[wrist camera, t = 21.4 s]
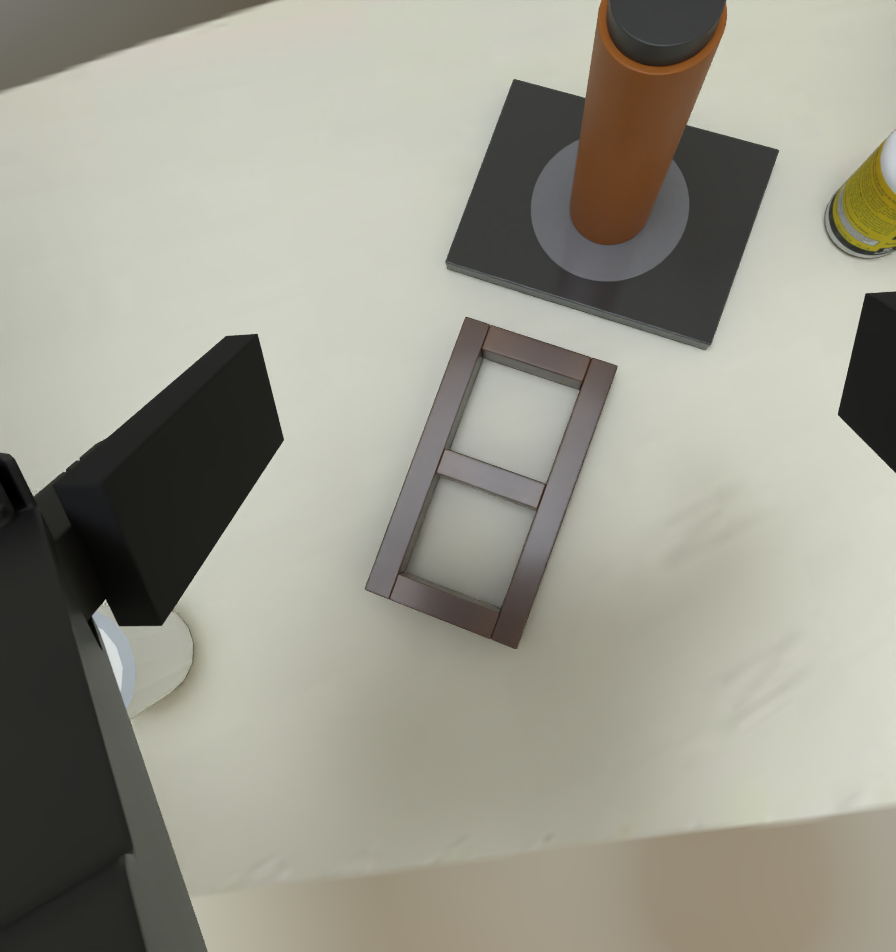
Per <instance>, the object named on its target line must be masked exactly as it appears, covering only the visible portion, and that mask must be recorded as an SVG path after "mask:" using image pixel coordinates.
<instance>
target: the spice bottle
mask: <svg viewBox="0 0 896 952" xmlns="http://www.w3.org/2000/svg"><path fill="white" fill-rule="evenodd" d="M726 20H727V7H726V0H602V1H601V4H600V7H599V12H598V19H597V25H596V32H595V39H594V45H593V52H592V59H591V65H590V72H589V79H588V86H587V92H586V99H585V106H584V112H583V119H582V126H581V133H580V139H579V146H578V153H577V159H576V166H575V173H574V180H573V186H572V193H571V200H570V216H571V220H572V222H573V224H574V226H575V228H576V229H577V230H578V232H579V233H580V234H581V235H582V236H584V237H585V238H586V239H588V240H590V241H592V242H595V243H598V244H602V245H615V244H620V243H623V242H626V241H628V240H630V239H631V238H633V237H634V236H636V235H637V234H638V233H639V232H640V231H641V230H642V229H643V227H644V226H645V224H646V223H647V221H648V218H649V216H650V213H651V211H652V208H653V206H654V203H655V201H656V198H657V196H658V194H659V191H660V189H661V186H662V184H663V181H664V179H665V176H666V174H667V171H668V169H669V166H670V164H671V161H672V159H673V156H674V154H675V151H676V149H677V147H678V144H679V142H680V139H681V137H682V134H683V132H684V129H685V127H686V124H687V122H688V119H689V117H690V114H691V112H692V109H693V107H694V104H695V102H696V100H697V97H698V95H699V92H700V90H701V87H702V85H703V82H704V80H705V77H706V75H707V72H708V70H709V67H710V65H711V62H712V60H713V58H714V55H715V53H716V50H717V48H718V45H719V43H720V40H721V38H722V35H723V33H724V29H725V26H726Z"/></svg>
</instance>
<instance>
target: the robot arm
mask: <svg viewBox="0 0 896 952" xmlns="http://www.w3.org/2000/svg"><path fill="white" fill-rule="evenodd" d="M838 415H839V416H840V417H841V418H842V420H843V421H844V422H845V423H846V424H847V425H848V426H849V427H850V428H851V429H852V430H853V431H854V432H855V433H856V434H857V435H858V436H859V437H860V438H861V439H862V440H863V441H864V442H865V443H866V444H867V445H868V446H869V447H870V448H871V449H872V450H873V451H874V452H875V453H876V454H877V455H878V456H879V457H880V458H881V459H882V460H883V461H884V462H885V463H886V464H887V465H888V466H889V467H890V468H891V469H892V470H893V471H894V472H895V473H896V292H881V293H866V294H865V298H864V303H863V307H862V311H861V316H860V320H859V324H858V329H857V333H856V337H855V342H854V346H853V351H852V355H851V359H850V364H849V368H848V372H847V377H846V381H845V385H844V390H843V394H842V398H841V403H840V407H839V411H838ZM283 441H284V438H283V434H282V430H281V426H280V422H279V418H278V414H277V410H276V406H275V402H274V398H273V394H272V390H271V386H270V382H269V378H268V374H267V370H266V366H265V362H264V358H263V354H262V350H261V346H260V342H259V338H258V334H250V335H235V336H226V337H224V338H223V339H222V340H221V341H220V342H219V343H217V344H216V345H215V346H214V347H213V348H212V349H210V350H209V351H208V352H207V353H206V354H205V355H203V356H202V357H201V358H200V359H199V360H198V361H196V362H195V363H194V364H193V365H192V366H191V367H189V368H188V369H187V370H186V371H185V372H184V373H182V374H181V375H180V376H179V377H178V378H177V379H175V380H174V381H173V382H172V383H171V384H170V385H168V386H167V387H166V388H165V389H164V390H163V391H162V392H160V393H159V394H158V395H157V396H156V397H155V398H153V399H152V400H151V401H150V402H149V403H148V404H146V405H145V406H144V407H143V408H142V409H141V410H139V411H138V412H137V413H136V414H135V415H134V416H132V417H131V418H130V419H129V420H128V421H127V422H125V423H124V424H123V425H122V426H121V427H120V428H118V429H117V430H116V431H115V432H114V433H113V434H111V435H110V436H109V437H108V438H106V439H104V440H103V441H101V442H99V443H97V444H95V445H94V446H93V447H92V448H91V449H89V450H88V451H87V452H86V453H85V454H84V455H82V456H81V457H80V461H75V462H74V463H73V464H72V465H71V466H69V467H68V468H67V469H66V472H62V473H61V474H60V475H59V476H58V477H57V478H55V479H54V480H53V481H52V482H51V483H49V484H48V485H47V486H46V487H45V488H44V489H42V490H41V491H40V492H39V493H38V494H36V495H35V496H34V497H33V495H32V493H31V491H30V489H29V487H28V485H27V483H26V481H25V479H24V477H23V475H22V473H21V471H20V469H19V467H18V465H17V463H16V461H15V459H14V458H13V457H12V456H11V455H10V454H5V453H0V952H207V948H206V945H205V942H204V939H203V936H202V933H201V930H200V927H199V925H198V922H197V918H196V916H195V913H194V910H193V907H192V904H191V901H190V898H189V895H188V892H187V889H186V886H185V883H184V880H183V877H182V874H181V871H180V868H179V865H178V862H177V859H176V856H175V853H174V850H173V847H172V844H171V841H170V838H169V835H168V832H167V829H166V826H165V823H164V820H163V817H162V814H161V811H160V809H159V806H158V803H157V800H156V797H155V794H154V791H153V788H152V785H151V782H150V779H149V776H148V773H147V770H146V767H145V764H144V761H143V758H142V755H141V752H140V749H139V746H138V743H137V740H136V737H135V734H134V731H133V728H132V725H131V722H130V719H129V716H128V713H127V710H126V707H125V704H124V702H123V699H122V696H121V693H120V690H119V687H118V684H117V681H116V678H115V675H114V672H113V669H112V666H111V663H110V660H109V657H108V654H107V651H106V648H105V645H104V642H103V639H102V636H101V633H100V631H99V629H98V627H97V625H96V623H95V621H94V619H93V617H92V615H93V614H94V613H95V612H96V610H97V609H98V608H99V607H100V605H101V604H102V603H103V602H104V600H105V599H106V600H107V603H108V605H109V607H110V609H111V611H112V613H113V615H114V617H115V620H116V622H117V624H118V626H162V625H163V624H164V622H165V621H166V619H167V618H168V616H169V615H170V613H171V612H172V610H173V608H174V607H175V605H176V604H177V602H178V601H179V599H180V598H181V596H182V595H183V593H184V592H185V590H186V589H187V587H188V586H189V584H190V583H191V581H192V579H193V578H194V576H195V575H196V573H197V572H198V570H199V569H200V567H201V566H202V564H203V563H204V561H205V560H206V558H207V557H208V555H209V554H210V552H211V550H212V549H213V547H214V546H215V544H216V543H217V541H218V540H219V538H220V537H221V535H222V534H223V532H224V531H225V529H226V528H227V526H228V525H229V523H230V521H231V520H232V518H233V517H234V515H235V514H236V512H237V511H238V509H239V508H240V506H241V505H242V503H243V502H244V500H245V499H246V497H247V496H248V494H249V492H250V491H251V489H252V488H253V486H254V485H255V483H256V482H257V480H258V479H259V477H260V476H261V474H262V473H263V471H264V470H265V468H266V467H267V465H268V463H269V462H270V460H271V459H272V457H273V456H274V454H275V453H276V451H277V450H278V448H279V447H280V445H281V444H282V442H283Z"/></svg>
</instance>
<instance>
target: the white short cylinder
mask: <svg viewBox="0 0 896 952" xmlns="http://www.w3.org/2000/svg"><path fill="white" fill-rule="evenodd" d="M92 617H93V619H94V621H95V623H96V625H97V627H98V629H99V631H100V633H101V636H102V639H103V642H104V645H105V648H106V651H107V654H108V657H109V660H110V663H111V666H112V669H113V672H114V675H115V678H116V681H117V684H118V687H119V690H120V693H121V696H122V699H123V702H124V704H125V707H126V710H127V713H128V716H129V719H131V718H133V717H134V716H136V715H137V714H139V713H140V712H142V711H143V710H145V709H147V708H148V707H150V706H151V705H153V704H154V703H156V702H157V701H159V700H160V699H162V698H163V697H165V696H166V695H168V694H170V693H171V692H172V691H173V690H174V689H175V688H176V687H177V686H179V685H180V684H181V683H182V682H183V681H184V680H185V678H186V675H187V673H188V671H189V669H190V667H191V664H192V659H193V641H192V638H191V635H190V632H189V629H188V626H187V625H186V624H185V623H184V622H183V620H182V619H181V618H180V617H179V616H178V614H177V613H175V612H173V611H172V612H171V613H170V615H169V616H168V618H167V619H166V621H165V622H164V624H163V625H162V626H118V624H117V622H116V620H115V617H114V615H113V613H112V611H111V609H110V607H109V606H100V607H99V608H98V609H97V610H96V612H95V613H94V614H93V615H92Z"/></svg>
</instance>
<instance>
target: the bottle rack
mask: <svg viewBox="0 0 896 952" xmlns="http://www.w3.org/2000/svg"><path fill="white" fill-rule="evenodd" d="M483 357H484V358H485V359H488V360H491V361H494V362H497V363H500V364H503V365H506V366H509V367H512V368H515V369H518V370H521V371H524V372H527V373H530V374H534V375H537V376H540V377H543V378H546V379H549V380H552V381H555V382H558V383H561V384H564V385H567V386H570V387H573V388H576V389H580V391H579V394H578V396H577V399H576V402H575V405H574V407H573V410H572V413H571V416H570V419H569V421H568V424H567V427H566V430H565V432H564V435H563V438H562V441H561V444H560V446H559V449H558V452H557V455H556V458H555V460H554V463H553V466H552V469H551V471H550V474H549V477H548V480H547V483H546V484H545V483H542V482H539V481H536V480H534V479H531V478H528V477H525V476H522V475H519V474H517V473H514V472H511V471H508V470H505V469H503V468H500V467H497V466H494V465H491V464H488V463H486V462H483V461H480V460H477V459H474V458H471V457H469V456H466V455H463V454H460V453H457V452H455V451H452V450H449V449H450V447H451V444H452V441H453V439H454V436H455V433H456V430H457V428H458V425H459V422H460V420H461V417H462V414H463V411H464V409H465V406H466V403H467V400H468V398H469V395H470V392H471V390H472V387H473V384H474V381H475V379H476V376H477V373H478V371H479V368H480V365H481V362H482V360H483ZM616 370H617V365H614V364H610V363H607V362H604V361H601V360H598V359H595V358H592V359H591V357H589V356H585V355H582V354H579V353H576V352H573V351H570V350H567V349H564V348H561V347H558V346H555V345H551V344H548V343H545V342H542V341H539V340H536V339H533V338H530V337H527V336H524V335H521V334H517V333H514V332H511V331H508V330H505V329H502V328H499V327H496V326H493V325H489V324H487V323H484V322H481V321H478V320H475V319H471V318H468V317H465V320H464V322H463V325H462V328H461V330H460V333H459V336H458V339H457V341H456V344H455V347H454V349H453V352H452V355H451V357H450V360H449V363H448V366H447V368H446V371H445V374H444V376H443V379H442V382H441V384H440V387H439V390H438V392H437V395H436V398H435V401H434V403H433V406H432V409H431V411H430V414H429V417H428V419H427V422H426V425H425V428H424V430H423V433H422V436H421V438H420V441H419V444H418V446H417V449H416V452H415V455H414V457H413V460H412V463H411V465H410V468H409V471H408V473H407V476H406V479H405V482H404V484H403V487H402V490H401V492H400V495H399V498H398V500H397V503H396V506H395V509H394V511H393V514H392V517H391V519H390V522H389V525H388V527H387V530H386V533H385V536H384V538H383V541H382V544H381V546H380V549H379V552H378V554H377V557H376V560H375V563H374V565H373V568H372V571H371V573H370V576H369V579H368V581H367V584H366V587H365V590H367V591H369V592H372V593H374V594H377V595H379V596H382V597H385V598H387V599H390V600H392V601H395V602H397V603H400V604H402V605H405V606H407V607H410V608H412V609H415V610H418V611H420V612H423V613H425V614H428V615H430V616H433V617H435V618H438V619H440V620H443V621H446V622H448V623H451V624H453V625H456V626H458V627H461V628H463V629H466V630H468V631H471V632H474V633H476V634H479V635H481V636H484V637H486V638H489V639H492V640H494V641H497V642H499V643H502V644H504V645H507V646H509V647H512V648H514V649H517V647H518V644H519V641H520V639H521V636H522V633H523V630H524V627H525V625H526V622H527V619H528V616H529V613H530V611H531V608H532V605H533V602H534V599H535V597H536V594H537V591H538V588H539V585H540V583H541V580H542V577H543V574H544V571H545V569H546V566H547V563H548V560H549V557H550V555H551V552H552V549H553V546H554V543H555V541H556V538H557V535H558V532H559V529H560V527H561V524H562V521H563V518H564V515H565V513H566V510H567V507H568V504H569V501H570V499H571V496H572V493H573V490H574V487H575V485H576V482H577V479H578V476H579V473H580V471H581V468H582V465H583V462H584V459H585V457H586V454H587V451H588V448H589V445H590V443H591V440H592V437H593V434H594V432H595V429H596V426H597V423H598V420H599V418H600V415H601V412H602V409H603V406H604V404H605V401H606V398H607V395H608V392H609V390H610V387H611V384H612V381H613V378H614V376H615V373H616ZM440 476H441V477H444V478H447V479H450V480H452V481H455V482H458V483H461V484H463V485H466V486H469V487H472V488H474V489H477V490H480V491H483V492H486V493H488V494H491V495H494V496H497V497H499V498H502V499H505V500H508V501H511V502H513V503H516V504H519V505H522V506H524V507H527V508H530V509H533V510H536V513H535V516H534V519H533V521H532V524H531V527H530V530H529V533H528V535H527V538H526V541H525V544H524V546H523V549H522V552H521V555H520V558H519V560H518V563H517V566H516V569H515V571H514V574H513V577H512V580H511V583H510V585H509V588H508V591H507V594H506V597H505V599H504V602H503V605H502V608H501V609H499V608H497V607H494V606H492V605H489V604H486V603H484V602H481V601H479V600H476V599H473V598H471V597H468V596H466V595H463V594H460V593H458V592H455V591H453V590H450V589H447V588H445V587H442V586H440V585H437V584H434V583H432V582H429V581H427V580H424V579H421V578H419V577H416V576H414V575H411V574H409V573H406V572H405V569H406V566H407V564H408V561H409V558H410V555H411V553H412V550H413V547H414V545H415V542H416V539H417V536H418V534H419V531H420V528H421V525H422V523H423V520H424V517H425V515H426V512H427V509H428V506H429V504H430V501H431V498H432V496H433V493H434V490H435V487H436V485H437V482H438V479H439V477H440Z"/></svg>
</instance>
